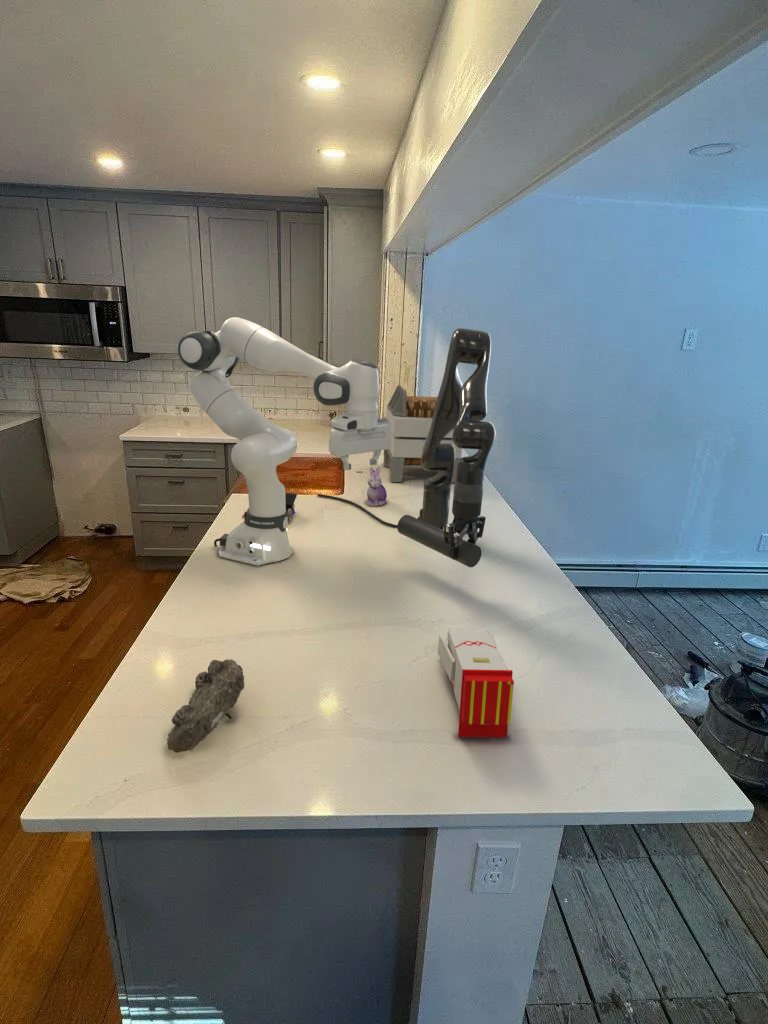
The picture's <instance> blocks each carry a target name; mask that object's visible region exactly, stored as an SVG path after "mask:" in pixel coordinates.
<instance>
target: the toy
mask: <svg viewBox="0 0 768 1024" xmlns="http://www.w3.org/2000/svg"><path fill="white" fill-rule="evenodd" d="M446 640H447V643H446V641H445V639H444V636H443V635H442V634H439V637H438V646H437V656H438V657H439V659H440V661H441V663H442V666H443V668H444V670H445V672H446V674H447V677H448V679H449V681H450V684H451V687H452V690H453V693H454V697H455V701H456V705H457V708H458V711H459V714H458V715H459V716H458V730H457V731H458V732H457V737H458V738H508V731H509V726H510V725H511V717H512V707H513V697H514V696H513V695H514V684H515V680H514V679H513V673H514V671H513V670H512V669H508V667H507V665H506V662H505V661H504V659H503V658H502V655H501V653H500V651H499V649H498V647H497V643H496V639H495V637H494V635H493V634H491V632H490V631H489V629H467V628H466V629H465V628H463V629H461V628H460V629H459V628H448V630H447V639H446Z"/></svg>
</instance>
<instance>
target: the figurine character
mask: <svg viewBox="0 0 768 1024" xmlns="http://www.w3.org/2000/svg"><path fill="white" fill-rule="evenodd" d="M297 496H298V494H297V493H288V492H287V493H286V492H285V499H286V510H287V518H288V523H289V522H290V520H291V519H292V518H293V515H294V514H296V511H295V508H296V505H295V502H296V498H297Z"/></svg>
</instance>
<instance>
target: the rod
mask: <svg viewBox="0 0 768 1024" xmlns="http://www.w3.org/2000/svg"><path fill="white" fill-rule="evenodd" d="M417 518H418V517H417ZM417 518H416V517H415V516H412V515H410V514H404V515H403V516H401V517H400V518H399V520H398V522H397V524H396V525H397V528H396V529H397V532H398V533H399V534H401V535H402V536H405V537H406V538H409V539H411V540H413V541H415V542H417V543H419V544H421V545H422V546H425V547H427V548H429V549H432V550H433V551H435V552H438V553H440V554H441V555H443V556H446V557H447V558H450V557H449V550H450V546H448V545H446V544H444V531H443V530H441V529H439V528H437V527H435V526H432V525H430V524H428V523H426V522H423V521H421V520H419V519H417ZM448 540H449V538H448ZM455 541H456V538H455V539H454V542H455ZM482 552H483V551H482V547H480V546H479V545H478V544H476V545H475V544H473V543H470V542H468V540H466V539H464V538H463V539H462V540H460V543H459V545H458V556H457V559H456V560H455V561H456V562H457V563H460V564H462V565H464V566H466V567H468V568H474V567H476V566H477V565H478V564H479V562H480V560H481V558H482V554H483V553H482ZM450 559H451V558H450Z"/></svg>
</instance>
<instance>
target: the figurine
mask: <svg viewBox="0 0 768 1024" xmlns="http://www.w3.org/2000/svg"><path fill="white" fill-rule="evenodd" d="M381 469H382V468H381V466H378V467H377V468H376V469H375V470H374V468H373V466H370V467H369V477H368V479H367V484H368V488H367V491H366V497H367V498H366V504H367V506H370V507H377V506H383V505H385V504H386V502H387V496H388V494H387V493H388V492H387V490H386V488H385V486H384V485H383V484H382V478H381V475H380V474H381Z"/></svg>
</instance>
